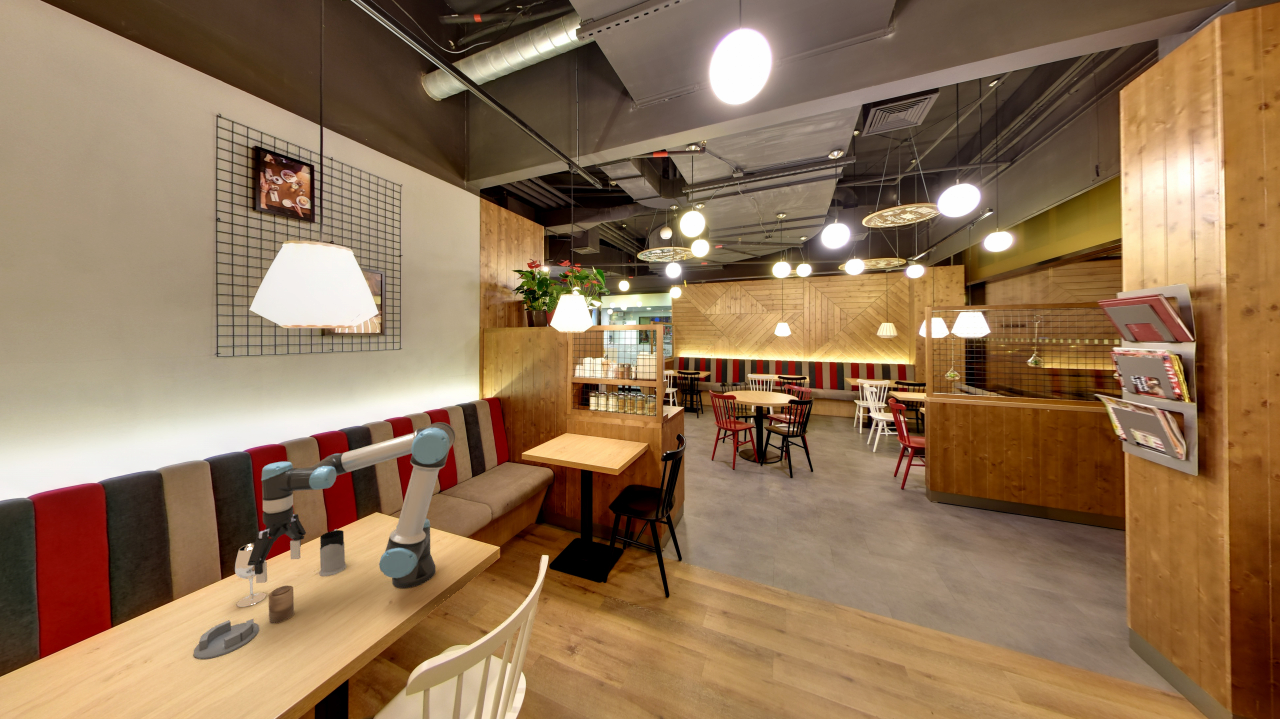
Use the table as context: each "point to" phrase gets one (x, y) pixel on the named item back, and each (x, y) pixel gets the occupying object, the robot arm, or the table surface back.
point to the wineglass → (247, 575)
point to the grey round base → (225, 639)
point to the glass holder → (332, 553)
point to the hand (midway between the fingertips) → (279, 569)
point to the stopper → (281, 604)
